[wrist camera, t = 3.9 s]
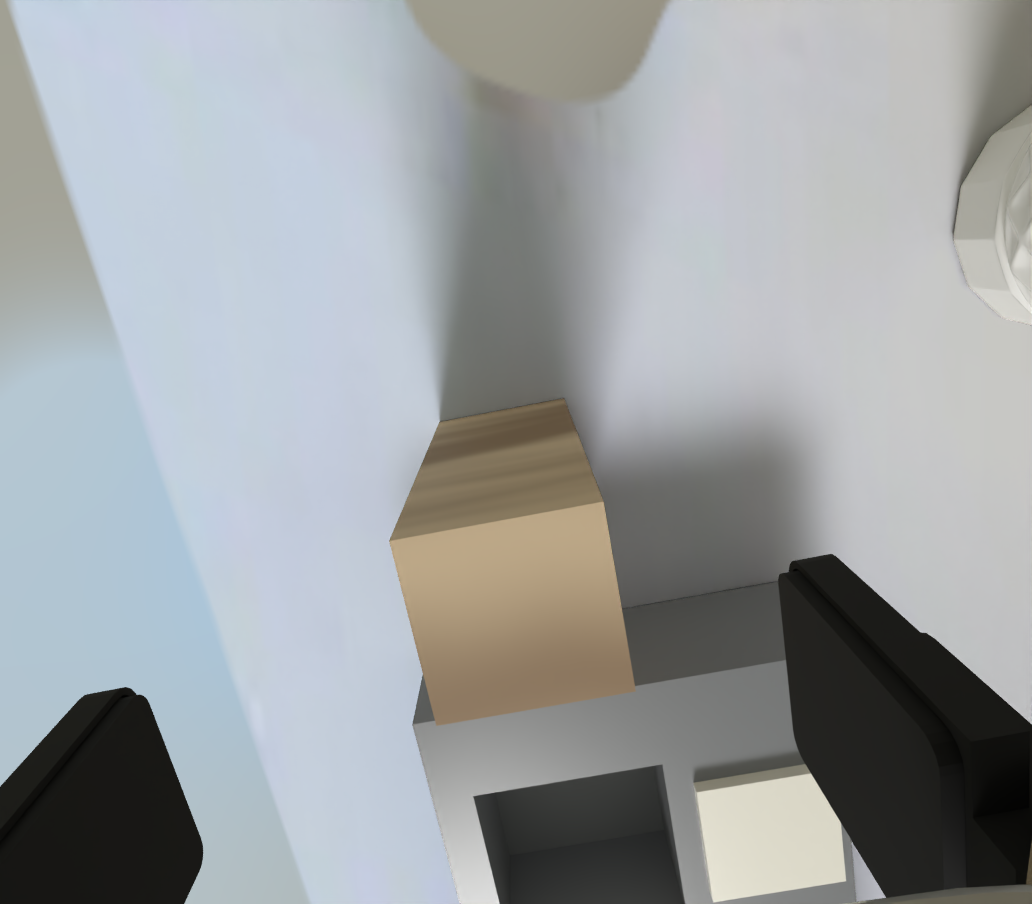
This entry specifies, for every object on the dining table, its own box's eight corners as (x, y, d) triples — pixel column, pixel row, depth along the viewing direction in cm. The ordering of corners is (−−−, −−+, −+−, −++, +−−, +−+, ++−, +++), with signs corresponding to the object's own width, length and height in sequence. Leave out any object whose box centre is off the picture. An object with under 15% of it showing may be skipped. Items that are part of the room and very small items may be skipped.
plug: (439, 421, 23) (389, 541, 13) (563, 398, 23) (603, 501, 13) (465, 537, 24) (436, 725, 14) (584, 515, 24) (635, 691, 14)
